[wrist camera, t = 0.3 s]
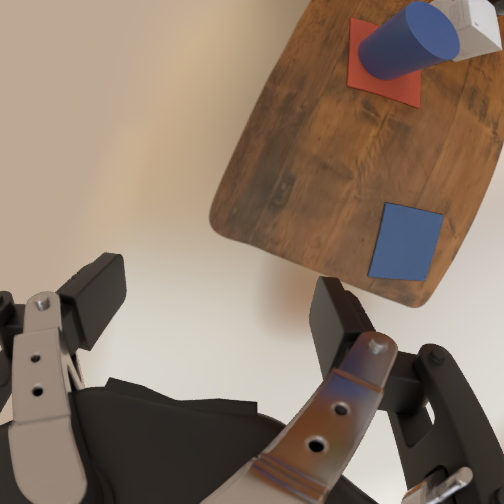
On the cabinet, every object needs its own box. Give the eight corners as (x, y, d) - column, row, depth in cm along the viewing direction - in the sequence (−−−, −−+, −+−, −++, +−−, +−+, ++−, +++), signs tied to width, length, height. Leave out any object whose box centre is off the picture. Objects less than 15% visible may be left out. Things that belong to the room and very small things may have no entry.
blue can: (358, 31, 23) (403, -10, 11) (401, 46, 23) (457, 19, 12) (356, 72, 25) (407, 42, 14) (401, 86, 25) (462, 70, 14)
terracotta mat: (349, 18, 22) (350, 17, 22) (418, 43, 22) (420, 43, 22) (346, 86, 26) (347, 85, 25) (417, 108, 26) (419, 108, 26)
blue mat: (385, 202, 31) (386, 202, 30) (442, 214, 31) (443, 215, 31) (367, 275, 35) (368, 276, 34) (423, 279, 35) (424, 281, 35)
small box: (454, 63, 23) (503, 52, 13) (424, 45, 22) (471, 25, 13) (453, 23, 20) (495, 6, 10) (423, 5, 19) (464, -19, 10)
